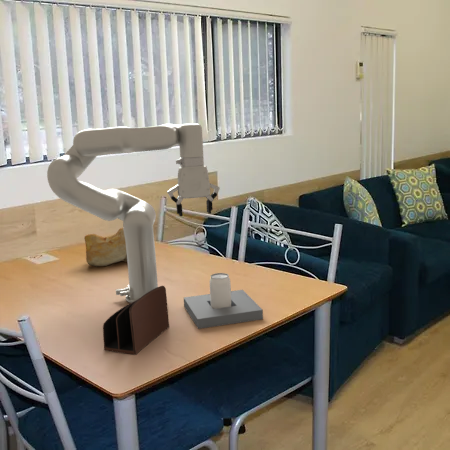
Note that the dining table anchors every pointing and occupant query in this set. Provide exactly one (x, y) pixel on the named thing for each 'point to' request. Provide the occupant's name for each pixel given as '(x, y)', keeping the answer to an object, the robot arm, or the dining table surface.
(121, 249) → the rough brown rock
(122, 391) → the dining table surface
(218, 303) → the can
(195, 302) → the socket block
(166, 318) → the letter holder
